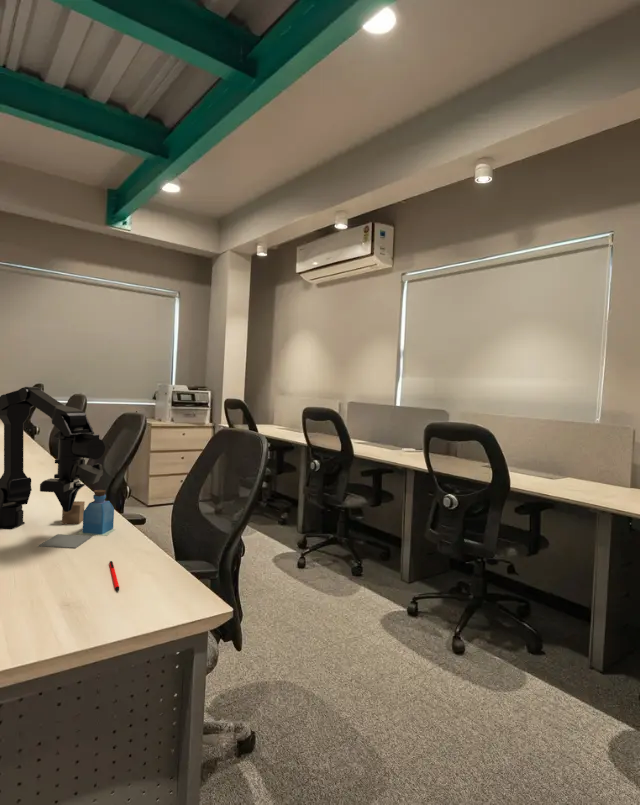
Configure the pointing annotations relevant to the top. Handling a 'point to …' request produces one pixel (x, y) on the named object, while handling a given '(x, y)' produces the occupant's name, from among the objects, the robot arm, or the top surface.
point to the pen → (114, 576)
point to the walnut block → (74, 513)
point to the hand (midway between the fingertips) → (67, 511)
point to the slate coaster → (65, 541)
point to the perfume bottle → (98, 515)
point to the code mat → (96, 534)
